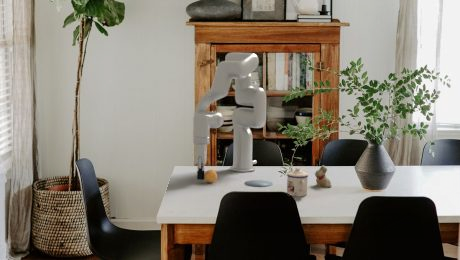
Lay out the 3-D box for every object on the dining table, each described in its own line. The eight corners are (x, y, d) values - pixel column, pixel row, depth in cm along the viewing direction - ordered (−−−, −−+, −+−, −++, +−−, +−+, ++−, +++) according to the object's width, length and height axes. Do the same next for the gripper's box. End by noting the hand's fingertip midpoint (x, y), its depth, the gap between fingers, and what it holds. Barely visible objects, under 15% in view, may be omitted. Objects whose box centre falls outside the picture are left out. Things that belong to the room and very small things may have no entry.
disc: (255, 179, 329) (255, 178, 329) (278, 183, 321) (278, 182, 321) (238, 183, 318) (239, 183, 318) (262, 188, 311) (262, 187, 310)
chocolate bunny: (324, 183, 322) (324, 162, 320) (332, 187, 314) (333, 165, 313) (313, 184, 320) (314, 163, 318) (322, 188, 312) (323, 166, 311)
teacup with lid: (283, 192, 303) (283, 166, 301) (302, 191, 305) (303, 165, 304) (294, 199, 291) (294, 171, 290) (313, 197, 294) (314, 170, 292)
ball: (207, 179, 324) (212, 167, 323) (216, 185, 321) (221, 173, 320) (199, 179, 319) (204, 167, 318) (209, 185, 316) (214, 173, 315)
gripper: (194, 137, 325) (194, 175, 328) (191, 142, 310) (190, 182, 313) (210, 138, 325) (210, 176, 327) (207, 142, 310) (207, 183, 312)
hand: (200, 179), depth 320 cm, fingers closed
